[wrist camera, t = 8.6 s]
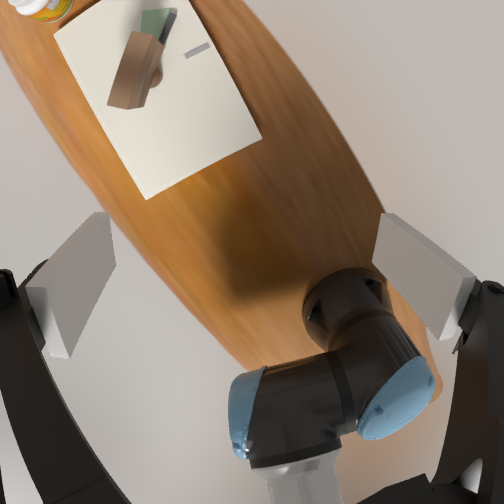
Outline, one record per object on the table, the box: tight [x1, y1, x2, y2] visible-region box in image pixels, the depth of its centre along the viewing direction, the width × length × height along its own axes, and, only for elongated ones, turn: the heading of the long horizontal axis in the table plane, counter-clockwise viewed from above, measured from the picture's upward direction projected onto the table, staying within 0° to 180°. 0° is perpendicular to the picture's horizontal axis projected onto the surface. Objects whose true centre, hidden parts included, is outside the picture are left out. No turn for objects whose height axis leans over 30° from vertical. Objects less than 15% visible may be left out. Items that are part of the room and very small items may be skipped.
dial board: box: [54, 0, 262, 200], centre depth 31 cm, size 26×16×2 cm, turn 26°
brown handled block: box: [107, 13, 177, 110], centre depth 25 cm, size 12×3×10 cm, turn 160°
